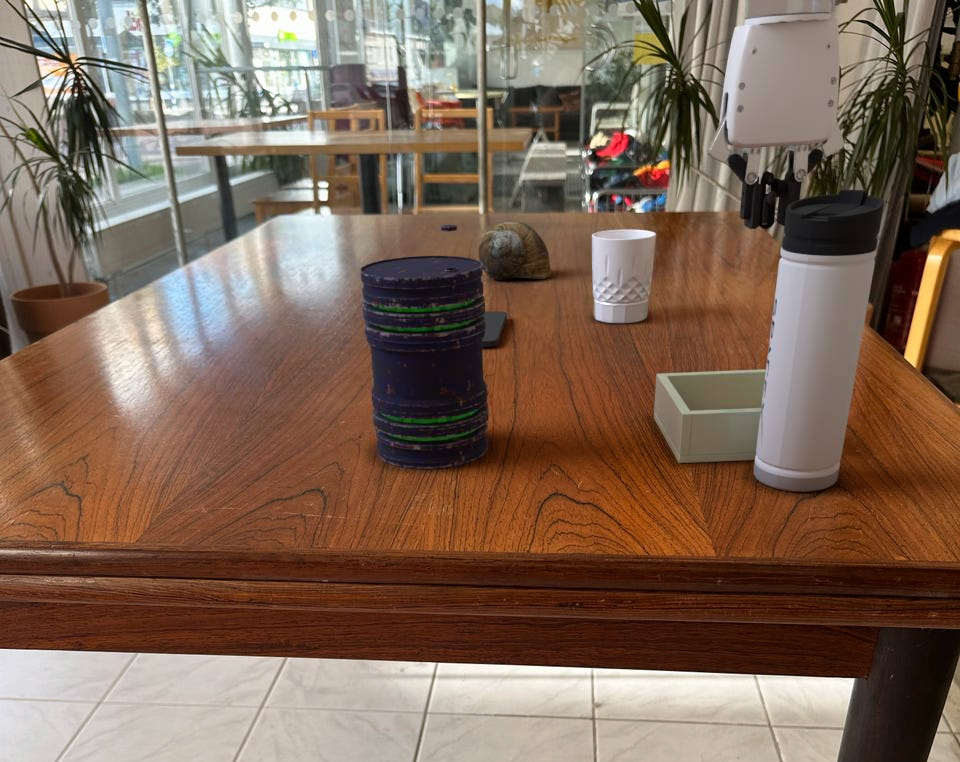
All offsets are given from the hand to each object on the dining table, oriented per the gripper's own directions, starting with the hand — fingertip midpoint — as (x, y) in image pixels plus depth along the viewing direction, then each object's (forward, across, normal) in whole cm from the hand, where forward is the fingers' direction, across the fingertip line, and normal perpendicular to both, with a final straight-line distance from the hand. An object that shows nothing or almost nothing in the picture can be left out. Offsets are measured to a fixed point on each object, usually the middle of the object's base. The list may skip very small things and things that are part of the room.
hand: (767, 224), depth 94 cm
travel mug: (+14, +5, +32) cm, 36 cm away
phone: (+13, +30, -18) cm, 38 cm away
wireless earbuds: (0, 0, 0) cm, 0 cm away
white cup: (+14, +11, -23) cm, 29 cm away
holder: (+14, +8, +23) cm, 28 cm away
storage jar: (+14, +34, +23) cm, 43 cm away
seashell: (+13, +24, -53) cm, 60 cm away
